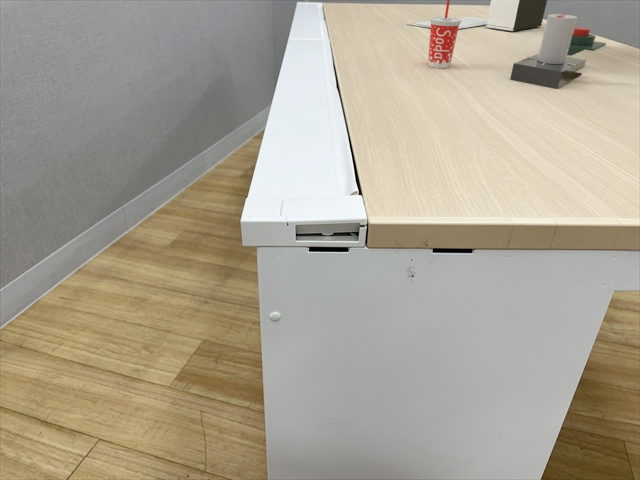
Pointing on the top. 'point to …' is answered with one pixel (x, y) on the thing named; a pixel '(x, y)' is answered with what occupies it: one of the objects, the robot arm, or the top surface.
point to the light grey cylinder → (556, 38)
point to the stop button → (581, 31)
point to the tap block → (546, 71)
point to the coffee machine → (506, 15)
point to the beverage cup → (442, 40)
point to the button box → (583, 44)
